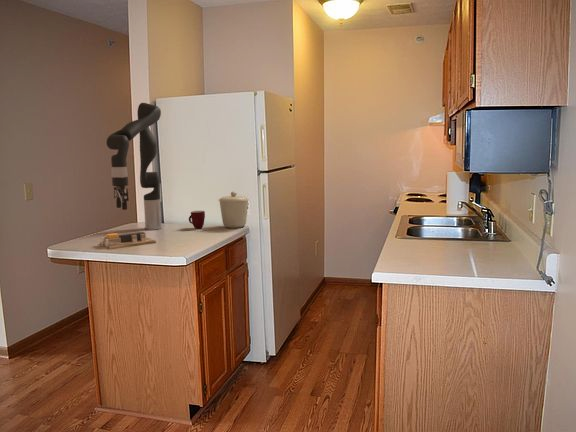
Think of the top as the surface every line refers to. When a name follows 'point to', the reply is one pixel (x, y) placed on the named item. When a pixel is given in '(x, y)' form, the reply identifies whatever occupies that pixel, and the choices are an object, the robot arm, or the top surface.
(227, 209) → the canister
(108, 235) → the grey and orange bar
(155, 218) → the robot arm
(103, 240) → the board
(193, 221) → the mug
